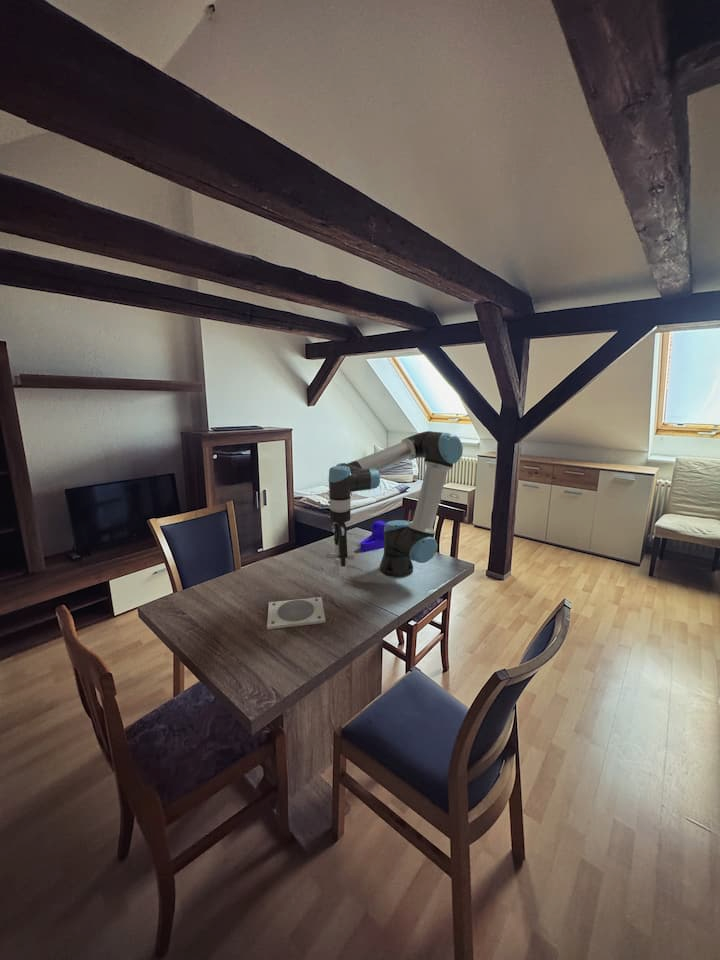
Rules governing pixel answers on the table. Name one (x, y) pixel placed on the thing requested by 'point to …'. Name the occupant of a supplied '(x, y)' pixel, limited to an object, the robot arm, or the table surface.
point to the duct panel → (295, 613)
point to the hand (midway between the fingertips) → (340, 567)
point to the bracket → (374, 538)
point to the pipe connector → (334, 555)
